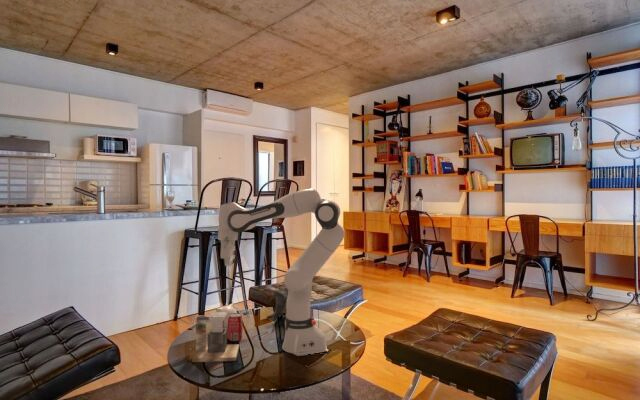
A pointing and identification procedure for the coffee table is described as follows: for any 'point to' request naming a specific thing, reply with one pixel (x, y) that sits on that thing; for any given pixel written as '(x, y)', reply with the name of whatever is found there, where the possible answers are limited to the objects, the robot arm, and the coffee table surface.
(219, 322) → the boxy square bracket
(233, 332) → the soda can
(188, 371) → the coffee table surface
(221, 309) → the cat head
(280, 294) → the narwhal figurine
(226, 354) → the stand
